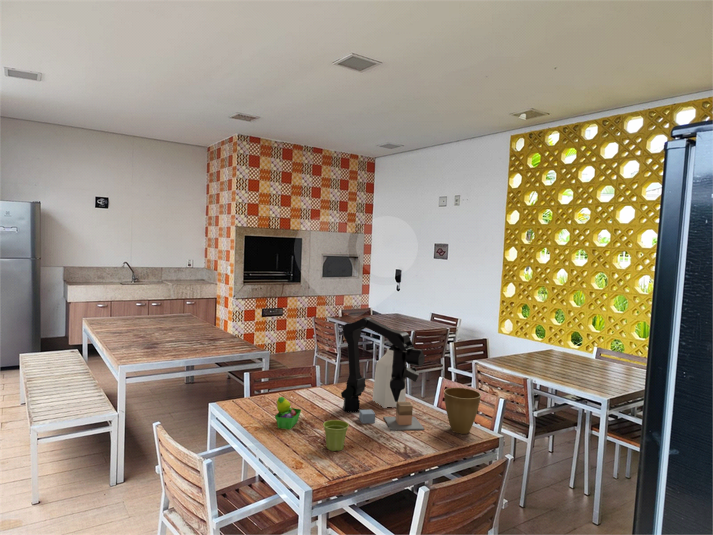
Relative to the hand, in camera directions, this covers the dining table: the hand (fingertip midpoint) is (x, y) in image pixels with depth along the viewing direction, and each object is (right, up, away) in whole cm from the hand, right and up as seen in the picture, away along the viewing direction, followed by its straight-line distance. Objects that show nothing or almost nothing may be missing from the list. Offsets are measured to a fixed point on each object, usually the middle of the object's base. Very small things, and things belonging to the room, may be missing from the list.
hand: (396, 398), depth 200 cm
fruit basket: (-45, -9, -8) cm, 47 cm away
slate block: (-13, -10, +1) cm, 16 cm away
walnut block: (+3, -6, 0) cm, 7 cm away
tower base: (+3, -11, 0) cm, 11 cm away
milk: (-2, -10, +27) cm, 28 cm away
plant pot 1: (-25, -11, -28) cm, 39 cm away
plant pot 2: (+26, -12, -4) cm, 29 cm away
